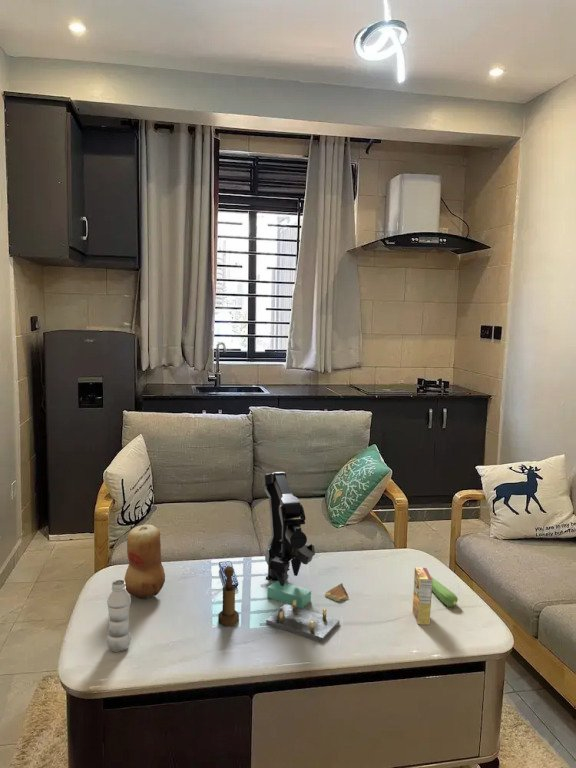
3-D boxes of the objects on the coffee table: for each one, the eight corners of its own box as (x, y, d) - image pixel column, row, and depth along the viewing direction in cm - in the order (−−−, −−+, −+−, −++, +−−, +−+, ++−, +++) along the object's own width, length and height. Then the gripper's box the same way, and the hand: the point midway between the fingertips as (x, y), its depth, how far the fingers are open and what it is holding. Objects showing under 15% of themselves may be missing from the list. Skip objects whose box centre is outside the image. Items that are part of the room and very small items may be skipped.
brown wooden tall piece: (242, 618, 183) (242, 564, 181) (233, 628, 177) (234, 573, 175) (223, 614, 185) (223, 561, 183) (214, 624, 179) (214, 569, 177)
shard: (341, 586, 207) (341, 582, 207) (359, 593, 202) (359, 588, 202) (323, 597, 199) (323, 592, 199) (341, 604, 194) (341, 599, 194)
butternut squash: (116, 601, 193) (115, 530, 190) (140, 584, 205) (139, 517, 202) (150, 609, 187) (149, 536, 185) (173, 592, 200) (172, 523, 197)
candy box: (411, 610, 190) (413, 567, 188) (424, 611, 190) (426, 567, 188) (417, 624, 181) (419, 578, 179) (430, 625, 181) (433, 579, 179)
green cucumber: (446, 598, 190) (458, 593, 191) (419, 574, 210) (430, 570, 211) (449, 612, 191) (461, 607, 192) (423, 587, 210) (434, 582, 211)
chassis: (266, 623, 180) (266, 610, 179) (285, 607, 190) (285, 595, 190) (322, 642, 170) (322, 628, 170) (339, 624, 180) (339, 611, 180)
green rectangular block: (267, 597, 198) (267, 586, 197) (276, 591, 203) (277, 580, 202) (301, 609, 190) (302, 598, 190) (310, 602, 195) (311, 591, 195)
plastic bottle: (109, 642, 168) (109, 577, 166) (133, 641, 168) (132, 577, 166) (104, 655, 161) (103, 588, 159) (129, 654, 162) (128, 587, 160)
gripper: (297, 551, 182) (296, 597, 184) (323, 533, 198) (322, 576, 200) (268, 544, 188) (267, 589, 189) (295, 527, 204) (294, 568, 205)
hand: (289, 580), depth 196 cm, fingers open, 9 cm apart
